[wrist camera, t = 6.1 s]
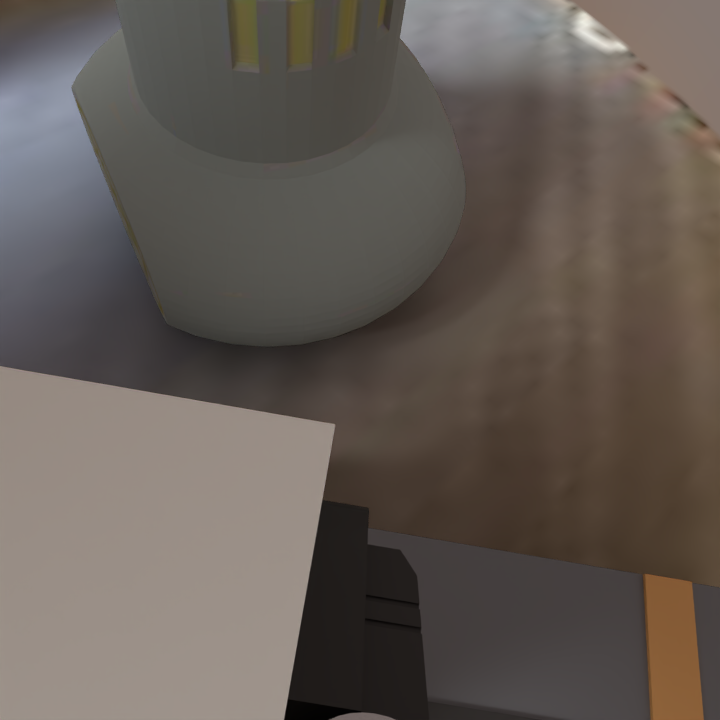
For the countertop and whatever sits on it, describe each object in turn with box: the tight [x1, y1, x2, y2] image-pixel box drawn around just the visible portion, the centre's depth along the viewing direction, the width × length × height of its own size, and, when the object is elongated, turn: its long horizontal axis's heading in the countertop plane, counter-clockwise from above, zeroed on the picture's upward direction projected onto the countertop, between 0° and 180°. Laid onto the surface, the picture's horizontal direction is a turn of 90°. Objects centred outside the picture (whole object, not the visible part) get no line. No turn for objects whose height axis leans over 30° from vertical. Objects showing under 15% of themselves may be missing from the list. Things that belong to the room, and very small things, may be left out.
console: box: [368, 528, 720, 720], centre depth 13 cm, size 20×7×3 cm, turn 82°
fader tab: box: [0, 366, 335, 720], centre depth 8 cm, size 4×5×9 cm
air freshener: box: [71, 0, 466, 347], centre depth 16 cm, size 11×8×10 cm
